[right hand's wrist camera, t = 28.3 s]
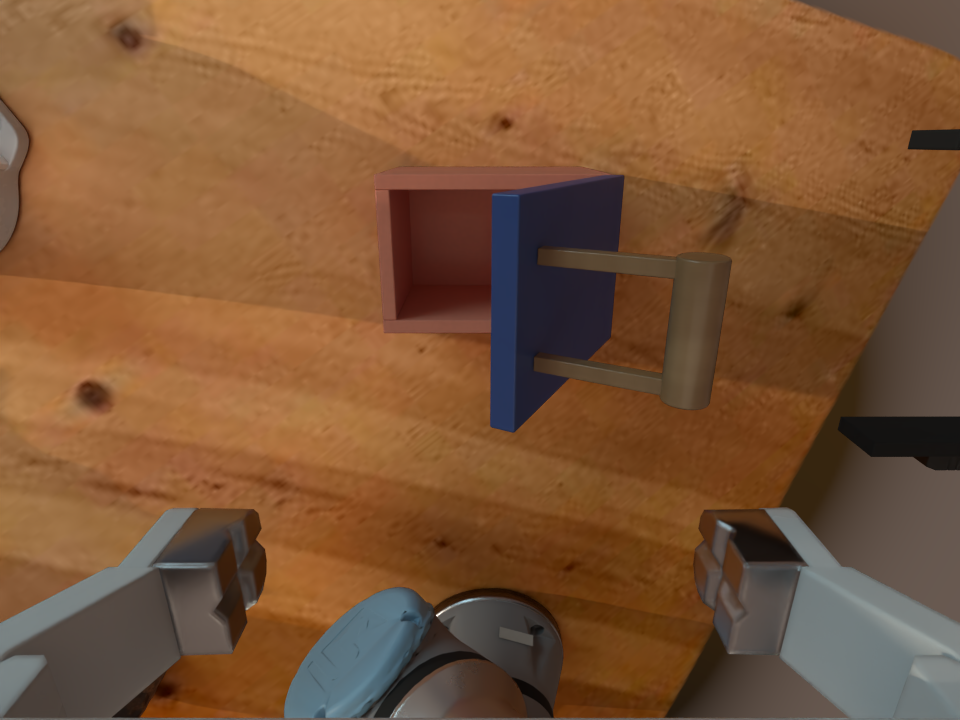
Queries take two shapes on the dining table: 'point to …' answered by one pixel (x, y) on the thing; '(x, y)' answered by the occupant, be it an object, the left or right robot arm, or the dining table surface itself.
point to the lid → (588, 300)
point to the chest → (444, 242)
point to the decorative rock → (139, 701)
